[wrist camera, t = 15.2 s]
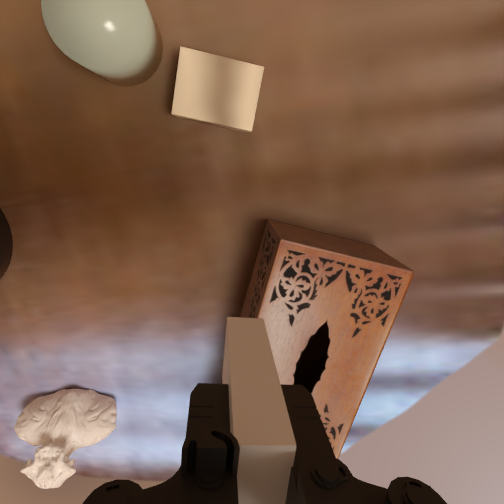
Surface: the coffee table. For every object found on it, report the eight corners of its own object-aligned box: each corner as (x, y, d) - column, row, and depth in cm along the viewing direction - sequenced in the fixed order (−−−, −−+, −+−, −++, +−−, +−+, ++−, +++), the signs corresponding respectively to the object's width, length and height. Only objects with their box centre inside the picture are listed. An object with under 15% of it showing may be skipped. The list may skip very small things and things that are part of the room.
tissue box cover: (267, 218, 44) (281, 239, 34) (373, 245, 46) (414, 271, 37) (217, 393, 50) (217, 451, 41) (313, 409, 53) (334, 467, 43)
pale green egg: (84, 81, 38) (44, 62, 29) (81, -7, 35) (37, -56, 27) (161, 90, 39) (145, 74, 30) (163, 5, 36) (147, -39, 28)
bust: (39, 396, 50) (9, 492, 44) (17, 380, 44) (-22, 490, 38) (127, 396, 52) (111, 490, 45) (118, 381, 45) (97, 487, 39)
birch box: (177, 117, 40) (171, 113, 35) (185, 58, 38) (180, 46, 33) (247, 132, 41) (251, 131, 36) (258, 76, 39) (264, 66, 34)
